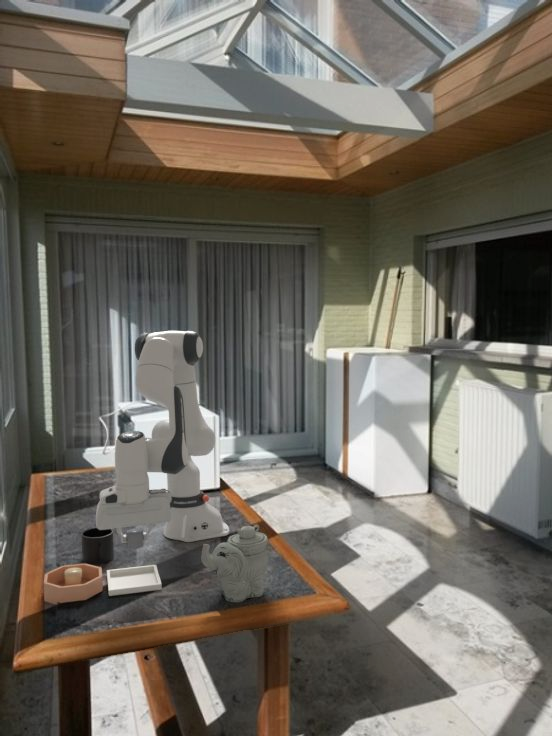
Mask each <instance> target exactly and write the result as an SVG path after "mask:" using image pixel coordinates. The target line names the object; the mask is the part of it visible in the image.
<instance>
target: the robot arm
mask: <svg viewBox="0 0 552 736" xmlns="http://www.w3.org/2000/svg"><path fill="white" fill-rule="evenodd" d="M203 351H204V344H203V340H202V337H201V335H200V334H199V333H198V332H196V331H192V330H186V331H183V330H167V331H166V330H165V331H157V332H144V333H141V334H139V336H138V337H137V338H136V339H135V342H134V355H135V358H136V359H137V361H138V362H137V367H136V372H135V388H136V389H137V392H138V394H140V395H141V396H142V397H143V398H144V399H146V400H148V401H149V402H152V403H154V404H157V405H159V406H161V407H164V408H165V409H166V410H167V411H168V419H165V420H159V421H158V422H156V423H155V425H154V426H153V428H152V431H151V437H146V436H145V433H144V432H142V431H139V430H127V431H123V432H122V433H119V435H118V436H117V437H116V440H115V448H114V468H115V471H116V479H115V485H112V486H110V487H108V488H104V489H102V490H101V491H100V492H99V501H98V503H97V506H96V514H95V526H96V527H95V528H98V529H99V530H105V529H112V530H114V529H115V530H116V533H117V534H118V536H119V537H120V543H121V544H123V543H127V540H126V539H127V536H126V533H125V534H123V532H122V530H123V528H129V527H130V528H131V527H138V526H139V527H140V526H146V527H147V528H146V531H145V532H144V531H143V539H144V541H149V540H150V533H151V531H152V530H153V525H155V524H165V526H164V530H163V536H164V537H166V538H167V539H171V540H175V541H182V542H185V543H191V542H198V541H203V540H209V539H216V538H219V537H226V536H228V535H229V534H230V527H229V526H228V524H227V523H225V522H224V521H223V517H222V515H221V513H220V511H219V510H218V509H217V508H215V507H213V506H212V505H211V504H210V503H208V502H209V500H210V497H209V495H207V494H206V493H204V492H203V491H201V473H200V472H201V471H200V469H199V467H198V466H197V465H196V463H195V462H194V460H193V459H192V457H202V456H208V455H209V454H210V453H212V451H213V450H214V448H215V445H216V435H215V431H214V430H213V429H212V428H211V427H210V426H209V425H208V424H207V422H206V420H205V418H204V416H203V414H202V412H201V409H200V405H199V401H198V394H197V378H196V369H195V364H197V363H198V362H199V361H200V360H201V358H202V357H203ZM148 473H162V474H166V483H167V484H166V485H167V489H166V488H160V489H159V488H158V489H150V478H149V475H148Z"/></svg>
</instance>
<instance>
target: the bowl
mask: <svg viewBox="0 0 552 736" xmlns="http://www.w3.org/2000/svg"><path fill="white" fill-rule="evenodd" d="M69 568H81V569H82V584H79V585H70V586H65V570H67V569H69ZM43 577H44V579H43V599H44V600H43V602H45V603H49V604H51V605H55V606H58V603H60V604H63V603H72V602H77V601H78V602H80V601H86V600H88V599H90V598H92V597H95V595H97V594H99V593H102V591H103V590H104V589H103V569H102V566H97V565H94V564H89V563H77V564H68V565H67V564H66V565H61V566H59V567H57V568H55V569H52V570H50V571H48V572H46V573H44V576H43Z"/></svg>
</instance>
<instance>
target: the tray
mask: <svg viewBox="0 0 552 736" xmlns="http://www.w3.org/2000/svg"><path fill="white" fill-rule="evenodd" d="M106 579H107V580H106V581H107V590H108V597H113V596H121V595H129V594H137V593H144V592H145V593H146V592H152V591H160V590H161V591H162V589H163V587H162V580H161V578H160V573H159V570H158V566H157V564H149V565H141V566H132V567H124V568H116V569H106Z"/></svg>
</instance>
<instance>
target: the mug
mask: <svg viewBox="0 0 552 736" xmlns="http://www.w3.org/2000/svg"><path fill="white" fill-rule="evenodd" d="M80 535H81V538H80V539H81V560H82V562H83V563H84V564H89V565H97V564H100V565H101V564H104V563H108V562H110V561H111V560H113V559H114V558H115V557H114V556H115V547H114V546H115V545H114V529H105V530H99V529H98V528H97V527H92V528H89V529H85V530H84V531H83V532H81V534H80Z"/></svg>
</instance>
